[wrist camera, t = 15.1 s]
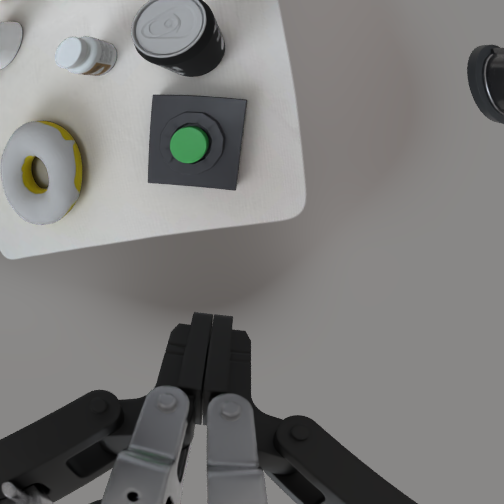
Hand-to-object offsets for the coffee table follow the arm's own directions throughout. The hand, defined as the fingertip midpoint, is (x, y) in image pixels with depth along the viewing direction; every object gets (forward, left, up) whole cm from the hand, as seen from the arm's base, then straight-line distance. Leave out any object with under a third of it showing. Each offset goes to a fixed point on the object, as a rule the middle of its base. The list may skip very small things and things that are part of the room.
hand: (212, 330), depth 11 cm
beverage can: (-14, -6, -25) cm, 30 cm away
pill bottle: (-14, -18, -25) cm, 34 cm away
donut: (0, -26, -25) cm, 36 cm away
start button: (-4, -5, -21) cm, 22 cm away
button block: (-4, -5, -25) cm, 26 cm away
